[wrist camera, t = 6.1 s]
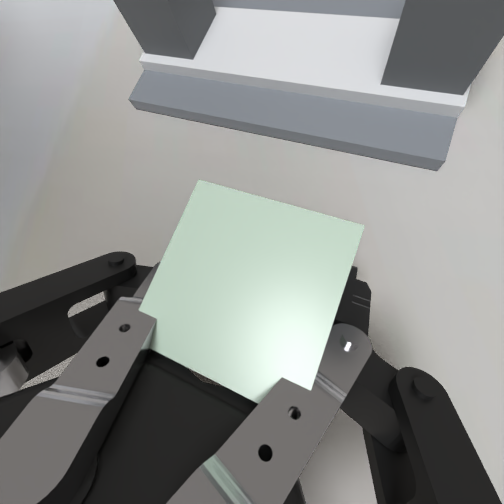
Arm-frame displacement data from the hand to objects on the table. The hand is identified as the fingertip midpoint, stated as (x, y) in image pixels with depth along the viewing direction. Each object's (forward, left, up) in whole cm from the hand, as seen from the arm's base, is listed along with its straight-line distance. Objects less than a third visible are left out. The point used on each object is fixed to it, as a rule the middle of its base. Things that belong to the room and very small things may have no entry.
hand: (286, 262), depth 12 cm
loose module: (0, -2, -4) cm, 5 cm away
